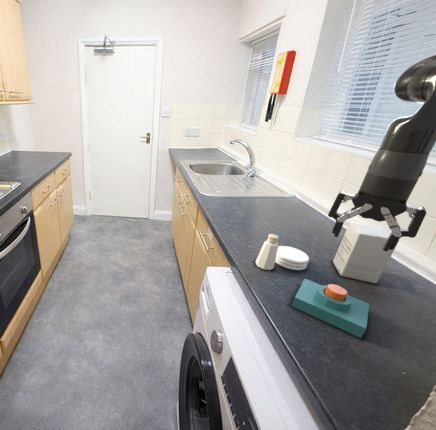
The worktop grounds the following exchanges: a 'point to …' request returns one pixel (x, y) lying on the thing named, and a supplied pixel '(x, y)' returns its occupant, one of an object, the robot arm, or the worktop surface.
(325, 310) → the button base
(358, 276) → the rectangular carton
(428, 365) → the worktop surface
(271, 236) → the pepper shaker
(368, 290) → the worktop surface
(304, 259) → the white round stack
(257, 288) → the worktop surface
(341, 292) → the orange button cap
